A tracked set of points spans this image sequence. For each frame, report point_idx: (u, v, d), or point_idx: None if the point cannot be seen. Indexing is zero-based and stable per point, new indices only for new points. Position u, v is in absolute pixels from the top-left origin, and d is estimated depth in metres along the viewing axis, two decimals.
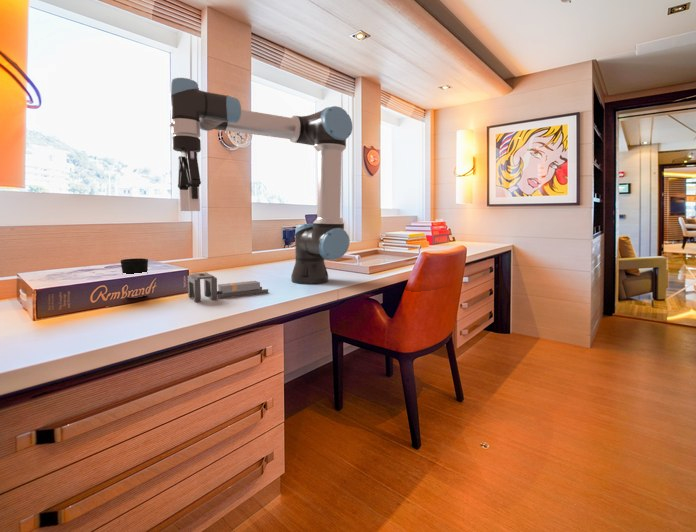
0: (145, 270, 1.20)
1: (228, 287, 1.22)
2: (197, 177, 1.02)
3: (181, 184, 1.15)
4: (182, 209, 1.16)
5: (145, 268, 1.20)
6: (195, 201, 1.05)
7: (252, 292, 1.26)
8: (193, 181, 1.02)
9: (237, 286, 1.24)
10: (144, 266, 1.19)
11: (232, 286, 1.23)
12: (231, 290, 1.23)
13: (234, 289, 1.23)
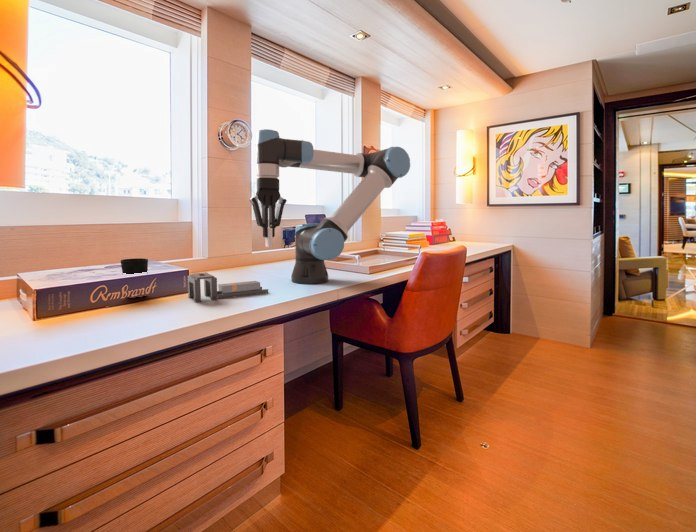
0: (145, 270, 1.20)
1: (228, 287, 1.22)
2: (258, 221, 1.27)
3: (269, 221, 1.31)
4: None
5: (145, 268, 1.20)
6: (267, 239, 1.30)
7: (252, 292, 1.26)
8: (258, 225, 1.28)
9: (237, 286, 1.24)
10: (144, 266, 1.19)
11: (232, 286, 1.23)
12: (231, 290, 1.23)
13: (234, 289, 1.23)
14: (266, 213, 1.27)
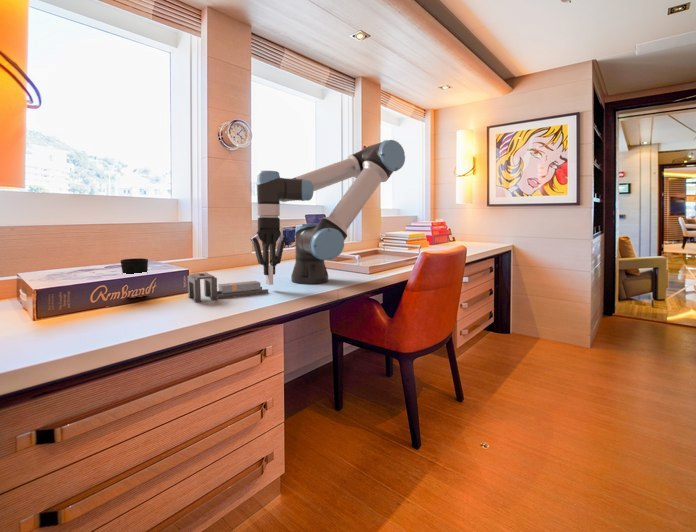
0: (145, 270, 1.20)
1: (228, 287, 1.22)
2: (259, 260, 1.29)
3: (270, 258, 1.32)
4: None
5: (145, 268, 1.20)
6: (267, 276, 1.32)
7: (252, 292, 1.26)
8: (259, 263, 1.30)
9: (237, 286, 1.24)
10: (144, 266, 1.19)
11: (232, 286, 1.23)
12: (231, 290, 1.23)
13: (234, 289, 1.23)
14: (267, 252, 1.29)
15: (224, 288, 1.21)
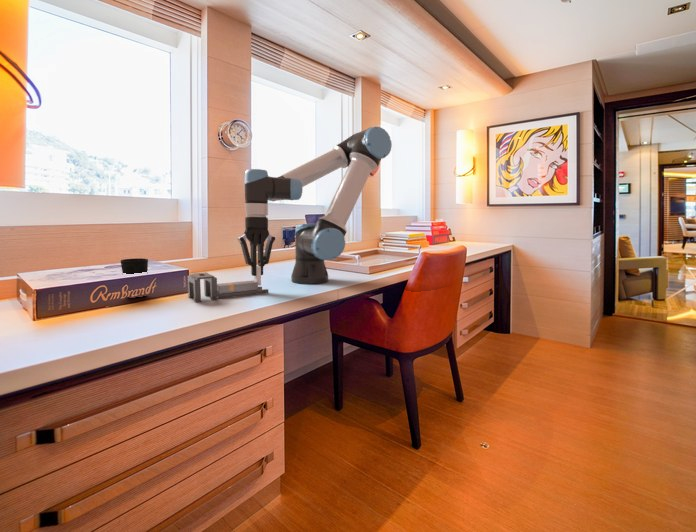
0: (145, 270, 1.20)
1: (225, 287, 1.21)
2: (246, 260, 1.26)
3: (258, 259, 1.30)
4: None
5: (145, 268, 1.20)
6: (255, 277, 1.29)
7: (252, 292, 1.26)
8: (246, 263, 1.27)
9: (234, 286, 1.23)
10: (144, 266, 1.19)
11: (229, 286, 1.22)
12: (229, 290, 1.22)
13: (231, 289, 1.23)
14: (254, 252, 1.27)
15: (221, 288, 1.21)
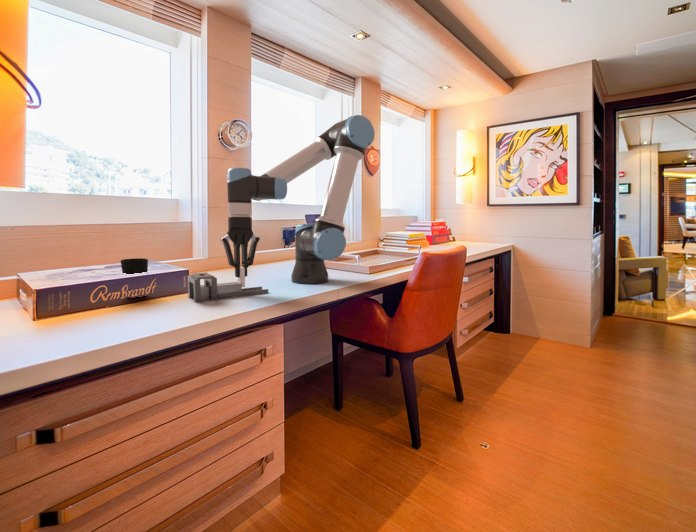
0: (145, 270, 1.20)
1: (207, 288, 1.18)
2: (229, 261, 1.23)
3: (242, 260, 1.27)
4: None
5: (145, 268, 1.20)
6: (239, 279, 1.26)
7: (252, 292, 1.26)
8: (229, 264, 1.24)
9: (217, 287, 1.20)
10: (144, 266, 1.19)
11: None
12: None
13: None
14: (238, 253, 1.23)
15: (203, 289, 1.17)
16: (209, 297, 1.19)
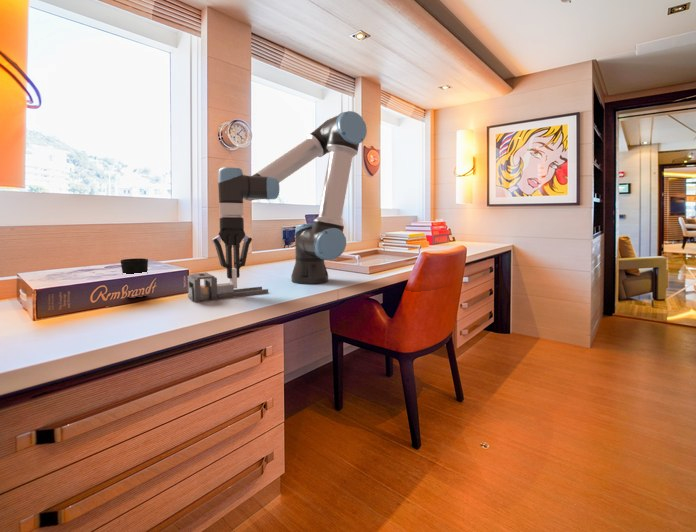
0: (145, 270, 1.20)
1: None
2: (221, 262, 1.21)
3: (234, 261, 1.25)
4: None
5: (145, 268, 1.20)
6: (231, 280, 1.24)
7: (252, 292, 1.26)
8: (221, 265, 1.23)
9: (208, 289, 1.18)
10: (144, 266, 1.19)
11: (203, 289, 1.17)
12: (202, 293, 1.17)
13: (205, 292, 1.18)
14: (230, 253, 1.22)
15: None
16: None
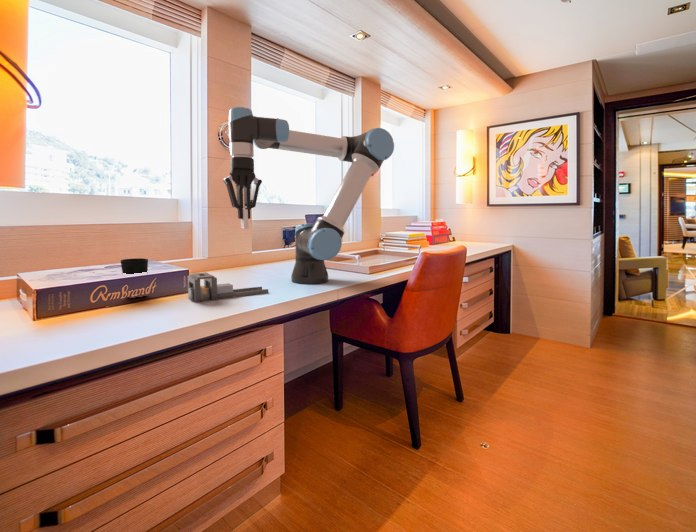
0: (145, 270, 1.20)
1: None
2: (233, 202, 1.24)
3: (244, 202, 1.28)
4: None
5: (145, 268, 1.20)
6: (242, 220, 1.27)
7: (252, 292, 1.26)
8: (232, 206, 1.25)
9: (207, 289, 1.18)
10: (144, 266, 1.19)
11: (202, 289, 1.17)
12: (201, 293, 1.17)
13: (204, 292, 1.18)
14: (241, 194, 1.24)
15: (193, 291, 1.16)
16: None
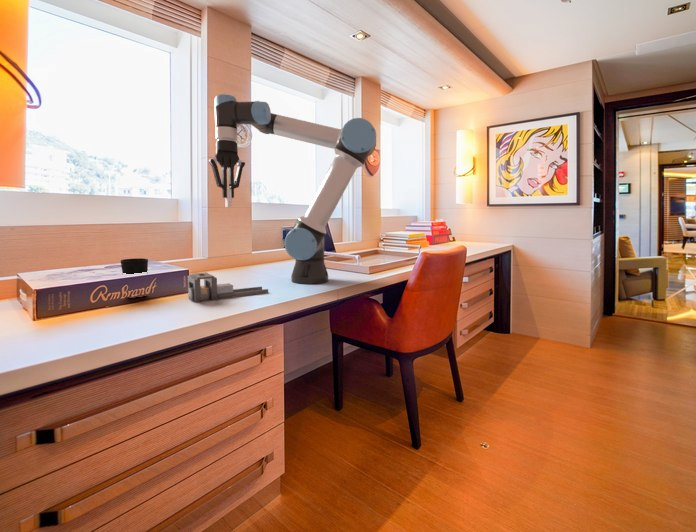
0: (145, 270, 1.20)
1: None
2: (217, 182, 1.35)
3: None
4: None
5: (145, 268, 1.20)
6: (226, 199, 1.38)
7: (252, 292, 1.26)
8: (217, 185, 1.36)
9: (208, 289, 1.18)
10: (144, 266, 1.19)
11: (202, 289, 1.17)
12: (201, 293, 1.17)
13: (204, 292, 1.18)
14: (225, 174, 1.36)
15: (193, 291, 1.16)
16: None
